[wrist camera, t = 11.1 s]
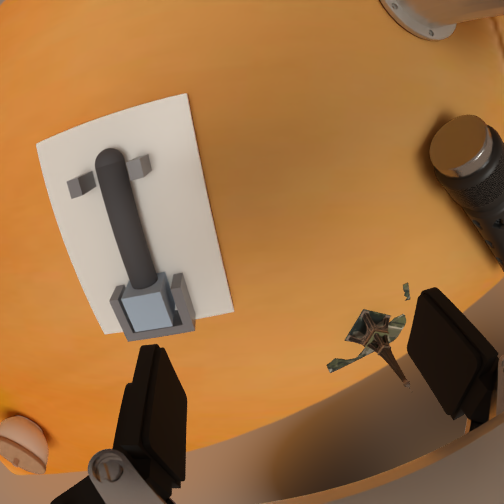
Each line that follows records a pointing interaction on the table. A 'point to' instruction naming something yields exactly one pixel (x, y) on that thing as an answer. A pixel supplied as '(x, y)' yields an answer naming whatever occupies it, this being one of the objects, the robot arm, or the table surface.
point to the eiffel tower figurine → (375, 338)
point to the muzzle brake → (473, 174)
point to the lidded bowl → (23, 444)
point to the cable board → (139, 212)
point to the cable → (133, 248)
